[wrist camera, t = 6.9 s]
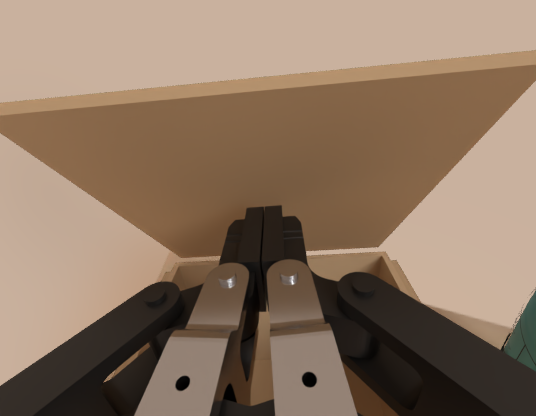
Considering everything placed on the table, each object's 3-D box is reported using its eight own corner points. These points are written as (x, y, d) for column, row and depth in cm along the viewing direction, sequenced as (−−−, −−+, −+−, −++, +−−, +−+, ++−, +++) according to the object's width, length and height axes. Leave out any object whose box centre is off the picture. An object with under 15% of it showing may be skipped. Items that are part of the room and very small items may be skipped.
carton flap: (378, 247, 20) (376, 240, 20) (551, 63, 7) (542, 49, 7) (181, 257, 21) (182, 251, 21) (-23, 117, 8) (-15, 104, 8)
